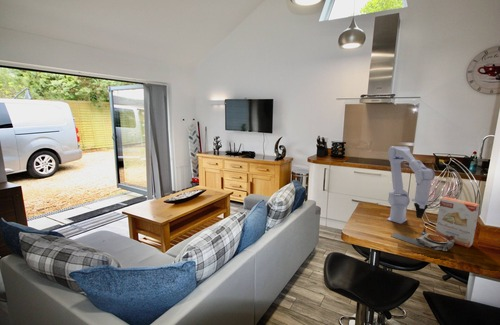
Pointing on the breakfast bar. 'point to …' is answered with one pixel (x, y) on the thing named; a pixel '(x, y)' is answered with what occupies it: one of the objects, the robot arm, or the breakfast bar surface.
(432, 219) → the breakfast bar surface
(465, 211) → the cracker box
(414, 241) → the gray flat rectangular plate
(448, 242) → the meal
